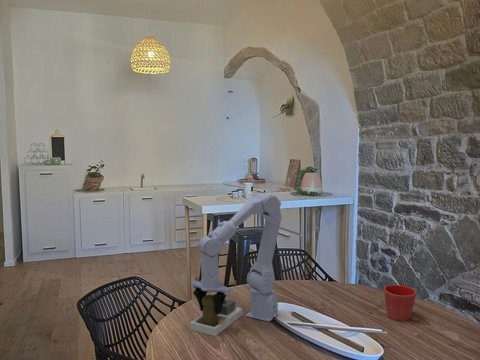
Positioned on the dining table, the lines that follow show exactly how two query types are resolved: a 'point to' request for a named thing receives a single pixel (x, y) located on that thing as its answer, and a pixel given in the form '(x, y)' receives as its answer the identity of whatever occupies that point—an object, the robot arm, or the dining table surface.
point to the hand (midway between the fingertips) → (210, 311)
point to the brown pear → (209, 311)
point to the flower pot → (399, 301)
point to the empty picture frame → (224, 319)
